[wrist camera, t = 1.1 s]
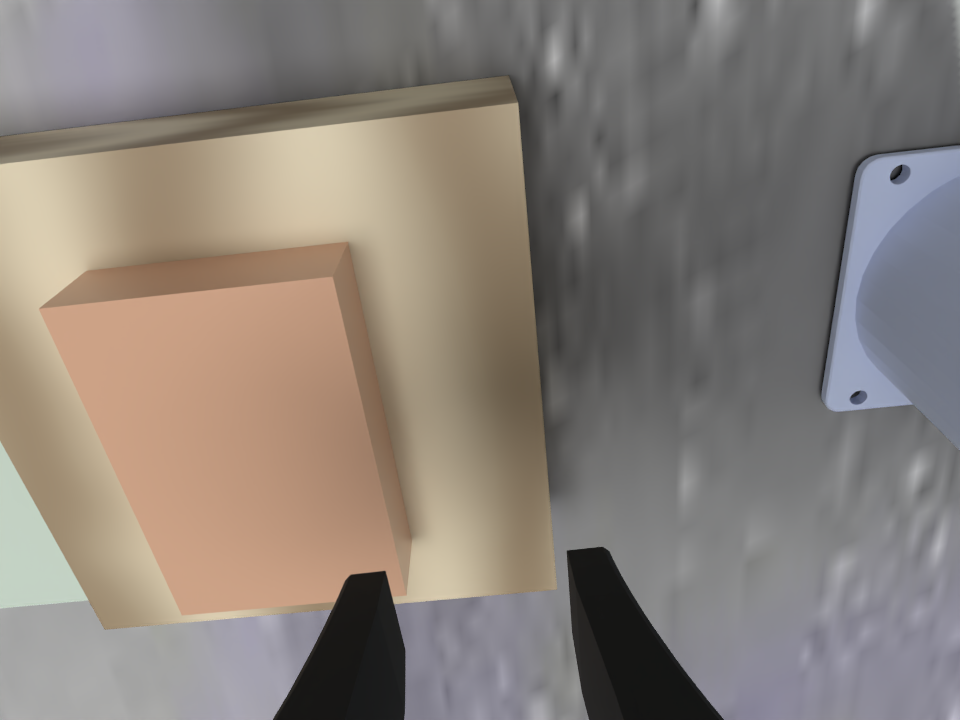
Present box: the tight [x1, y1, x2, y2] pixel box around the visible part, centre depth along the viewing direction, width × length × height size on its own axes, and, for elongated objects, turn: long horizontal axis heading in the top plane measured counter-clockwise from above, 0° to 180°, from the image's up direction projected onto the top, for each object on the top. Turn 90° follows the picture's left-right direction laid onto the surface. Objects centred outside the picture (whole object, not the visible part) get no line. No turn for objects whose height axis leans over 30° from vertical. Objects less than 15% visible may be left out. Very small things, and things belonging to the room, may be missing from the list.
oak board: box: [0, 75, 557, 630], centre depth 20 cm, size 14×14×4 cm
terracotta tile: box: [39, 242, 412, 615], centre depth 17 cm, size 6×9×2 cm, turn 6°
